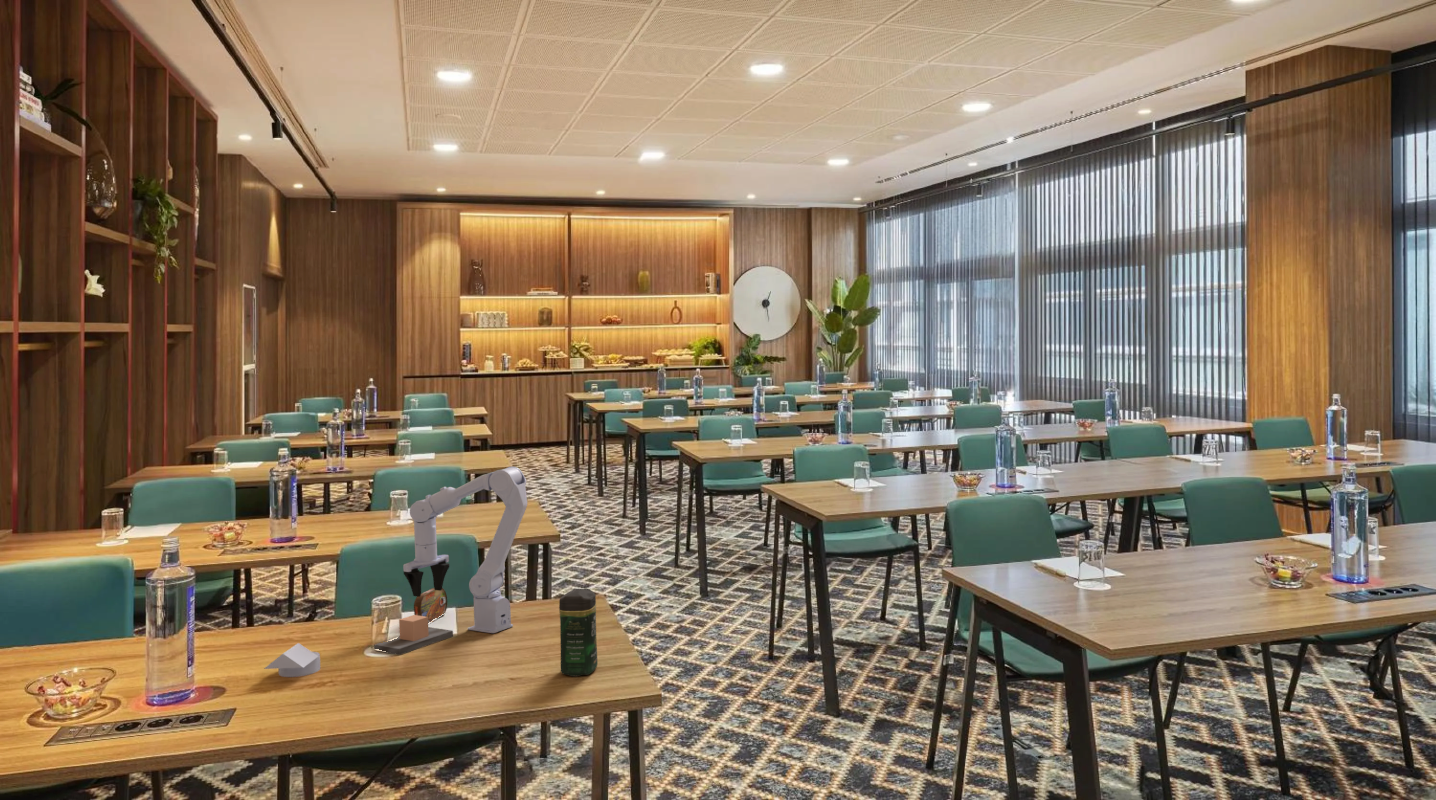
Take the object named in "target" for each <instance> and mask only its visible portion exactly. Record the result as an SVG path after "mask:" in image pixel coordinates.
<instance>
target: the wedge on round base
mask: <svg viewBox="0 0 1436 800" xmlns="http://www.w3.org/2000/svg"><path fill="white" fill-rule="evenodd" d="M320 655H321V654H320V652H318V651H312V650H310V649H308V648H307V647H305V646H303V645H302V644H301V643H299V642H298V643H296V644H295V645H292V647H291V648H289V649H288V650H286V651H285V652H282V654H280V655H279V656H278V657H277V658H275V659H274V660H273V661H272V662H270V663H269V664H268V665H267V666H265V667H263V669H265V670H270V669H271V670H272V669H273V670H274V669H278V675H279V676H280V677H285V678H296V677H297V678H298V677H304V676H308V675H313V674H315V673H317V672H319V671H320V670H321V656H320Z"/></svg>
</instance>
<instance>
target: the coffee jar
mask: <svg viewBox="0 0 1436 800" xmlns="http://www.w3.org/2000/svg"><path fill="white" fill-rule="evenodd" d="M596 597H597V595H596V593H595V592H594V591H592V590H591V588H573V589H572V590H570V591H567V592H566V593H565V594H564V595H562V596H561V597H560V598H559V604H558V605H559V607H558V609H559V622H560V623H559V626H560V628H559V629H560V631H559V632H560V638H559V639H560V672H561V674H562V675H567V676H570V677H579V676H584V675H588V676H589V675H590V674H592V673H593V672H594V671H595V670H596V668H597V667H598V662H599V661H598V647H597V646H598V645H597V643H598V642H597V600H596Z"/></svg>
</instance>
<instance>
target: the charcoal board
mask: <svg viewBox="0 0 1436 800" xmlns="http://www.w3.org/2000/svg"><path fill="white" fill-rule="evenodd" d="M428 633H429V636H427V637H425V638H422V639H419V640H416V641H410V640H404V639H400V635H399V636H397V637H398V638H397V639H394V640H392V641H388V642H384V641H382V642H383V643H381V642H378V643H375V644H374V645H373V649H379V650H382V651H386V652H388V653H387V654H393V655H398V656H401V655H404V654H406V653H409V652H411V651H412V652H413V651H415V650H417V649H420V648H421V649H422V648H424V647H426V646H430V645H432V644H434V643H438V642H441V641H444V640H446V639H450V638H452V637H454V630H453V629H452V630H450V629H443V628H438V627H431V626H428ZM386 652H385V653H386Z"/></svg>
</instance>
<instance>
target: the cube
mask: <svg viewBox="0 0 1436 800" xmlns="http://www.w3.org/2000/svg"><path fill="white" fill-rule="evenodd" d="M398 624H399V628H398V629H399V636H400V639H404V640H410V641H416V640H419V639H422V638H425V637H427V636H429V633H428V627H429V624H428V617H425V616H418V615H414V614H413V615H410V616H406V617H403V618H400V619H398Z"/></svg>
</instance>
